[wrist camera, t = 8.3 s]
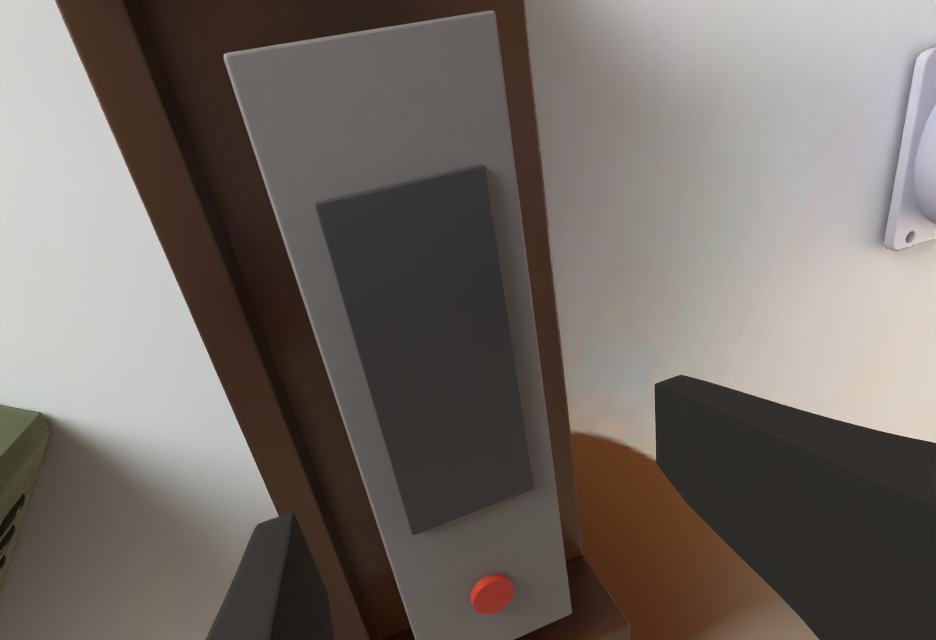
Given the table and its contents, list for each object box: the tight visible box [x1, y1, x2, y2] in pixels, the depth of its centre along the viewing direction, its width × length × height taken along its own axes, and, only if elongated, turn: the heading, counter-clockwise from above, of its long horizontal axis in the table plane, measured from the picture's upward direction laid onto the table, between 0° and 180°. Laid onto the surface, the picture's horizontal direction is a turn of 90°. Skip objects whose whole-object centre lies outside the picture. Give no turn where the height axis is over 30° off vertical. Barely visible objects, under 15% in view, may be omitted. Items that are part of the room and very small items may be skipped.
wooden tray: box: [55, 0, 631, 640], centre depth 15 cm, size 9×22×6 cm, turn 10°
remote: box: [224, 10, 572, 640], centre depth 13 cm, size 5×16×3 cm, turn 10°
